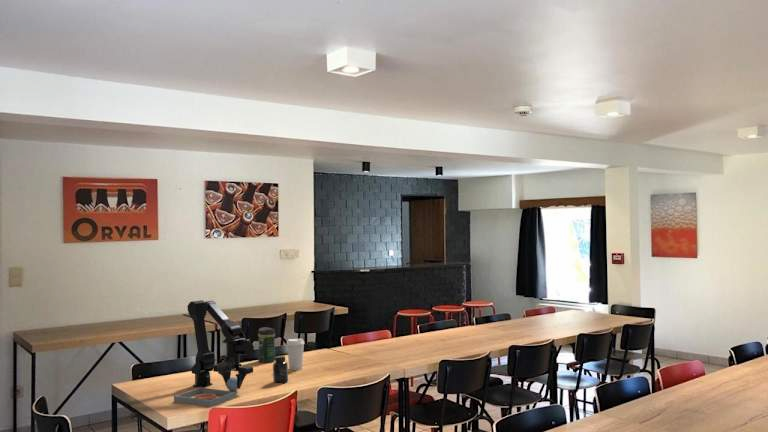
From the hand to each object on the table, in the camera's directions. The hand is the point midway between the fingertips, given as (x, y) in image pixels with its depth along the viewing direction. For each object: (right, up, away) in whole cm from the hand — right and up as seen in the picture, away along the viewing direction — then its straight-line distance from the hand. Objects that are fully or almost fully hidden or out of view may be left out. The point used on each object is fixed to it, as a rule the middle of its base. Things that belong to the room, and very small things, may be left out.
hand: (233, 388), depth 289 cm
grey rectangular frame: (-9, -1, -15) cm, 17 cm away
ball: (0, +2, 0) cm, 2 cm away
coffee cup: (+22, -2, +44) cm, 49 cm away
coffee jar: (+3, -3, +64) cm, 64 cm away
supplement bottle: (+19, -1, +15) cm, 24 cm away
